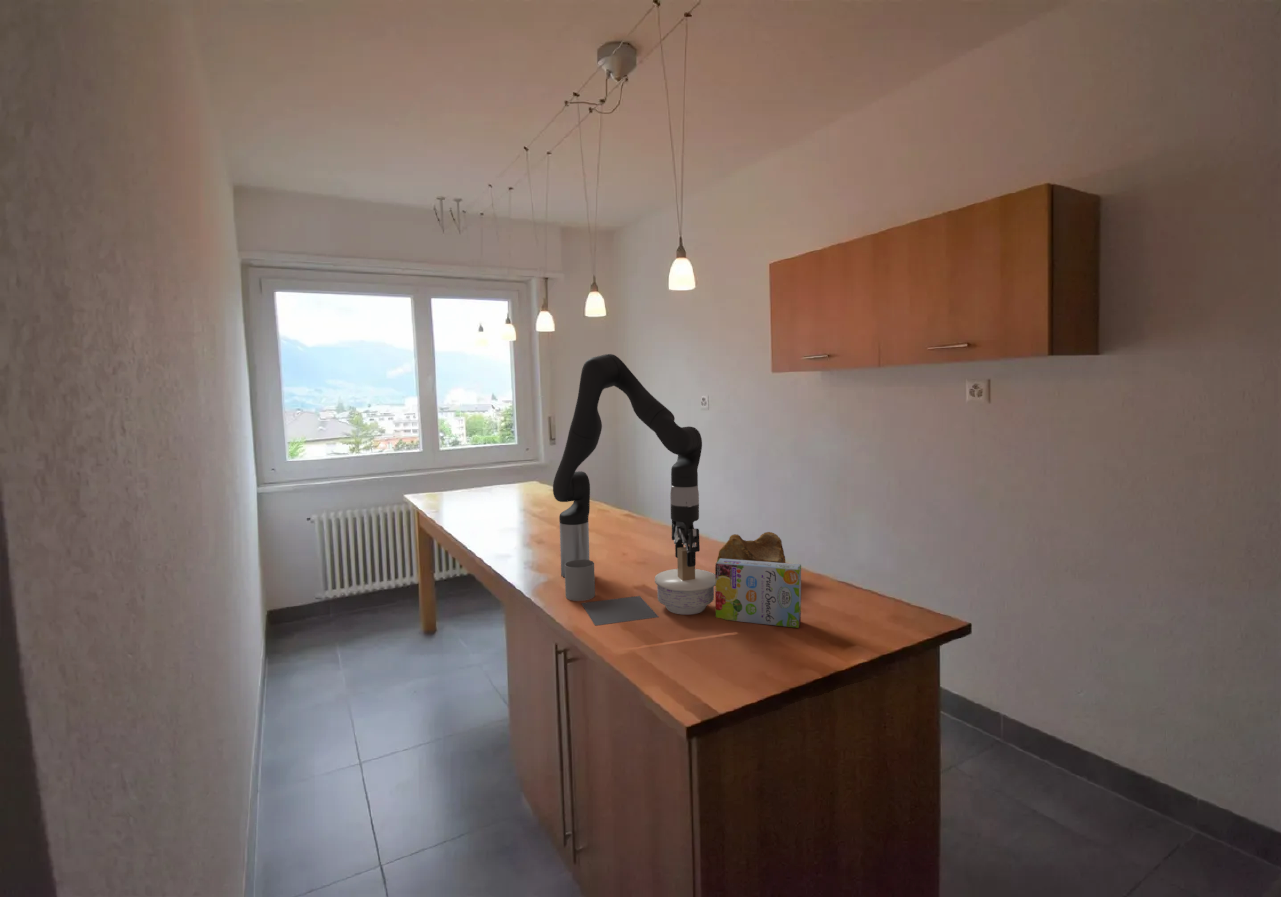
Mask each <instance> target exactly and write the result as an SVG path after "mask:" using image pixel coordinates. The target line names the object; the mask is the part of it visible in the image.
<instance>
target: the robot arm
mask: <svg viewBox="0 0 1281 897" xmlns="http://www.w3.org/2000/svg"><path fill="white" fill-rule="evenodd" d="M582 366H583V367H582V368H581V373H580V374H581V375H580V377H579V379H580V380H579V385H578V386H579V387H578V393H577V394H578V395H577V399H576V404H575V407H574V408H575V409H574V411H573V417H572V420H571V423H570V426H569V430H568V435H567V439H566V443H565V446H564V451H563V454H562V457H561V461H560V462H559V465H558V468H557V470H556V473H555V476H554V479H553V483H552V493H553V497H554V499H555V500H556V501H557V502H560V503H569V502H572V504H571V505H570V506H569V507H568V508H567V509H565V510H563V511H562V512H560V514H559V543H560V544H559V546H560V547H559V548H560V575H561V576H562V577H564V578H565V563H566V562H568V561H572V560H583V559H584V560H590V532H589V531H590V528H589V525H590V524H589V516H590V509H591V508H590V507H591V506H590V503H591V501H590V499H591V484H590V478H589V476H588V474H587V473H586V472H585V471H582V470H581V471H580V470H579V471H577V469H578V468H579V466H581V465H582V463H584V461H585V460H587V459H588V457H589V456H591V455H592V453H593V452H594V451H595V449H596V448H597V445H598V443H599V440H600V437H601V435H602V434H601V433H602V429H603V425H602V424H603V422H602V419H601V416H600V413H599V409H598V406H599V401H600V397H601V395H602V393H603V391H604V390H605V389H608V388H611V387H615V388H617V389H619V390H620V391H622V392H623V393H624V394H625V395H626V396H627V398H628V400H629V402H630V403H631V404H630V405H631V407H632V409H633V412H634V414H635V415H636V416H637V418H638V419H639V420H640V421H641V422H642V423H643V424H645V425H646V426H647V427H648V428H649V429H650V430H651V431H653V432H654V433H655V435H656V437H657V438H658V439H659V441H660V442H661V444H662V445H663V446H664V448H666V449H667V450H668V451H669V452H670V453H671V454H674V455H677V458H676V459H677V461H676V462H675V463H674V464H673V465H672V467H671V471H670V473H671V474H670V475H671V476H670V478H671V479H670V483H671V484H670V485H671V486H670V495H669V496H670V519H671V540H672V541H673V544H674V550H675V551H674V552H675V553H674V554H675V555H674V556H675V558H676V559H677V548H681V547H686V550H687V566H688V567H693V566H695V567H696V564H697V563H696V553H697V552H698V553H699V552H700V528H695V526H694V522H697V521H699V519H700V497H699V496H700V493H699V492H700V491H699V476H698V468H699V465H700V464H699V463H700V460H701V455H702V450H703V449H702V448H703V439H702V436H701V433H700V431H699V430H698V428H696V427H693V426H683V427H681V426H679V425H678V424H677V423H676V421H675V415H674V413H673V412H672V411H670V409H669V408H667V407H666V406H665V405H664V404H662V402H660V401H659V400H658V399H657V398H656V397H654V396H653V395H652V394H651V393H650V392H649V391H648V390H647V389H646V388H645V387H644V385H643V384H642V383H641V382H640V380H639V379H638V378H637V377H636V376H635V375H634V374H633V372H632V371H631V370H630V368H629V367H628V366H627V365H626V364H625V363H624V361H623V360H621V358H619V356H617V355H615V354H612V353H608V354H607V353H606V354H602V355H598V356H593V357H590V358H588V359H587V360H586V361H585V362H584V363H583V365H582Z"/></svg>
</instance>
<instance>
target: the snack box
mask: <svg viewBox="0 0 1281 897" xmlns="http://www.w3.org/2000/svg"><path fill="white" fill-rule="evenodd" d="M714 568H715V569H714V570H715V571H714V572H715V573H714V574H715V586H714V587H715V588H714V599H715V618H718V619H719V618H720V619H722V620H725V621H733V622H742V623H743V622H744V623H749V624H751V623H753V624H758V625H760V624H761V625H768V626H770V625H771V626H777V627H787V628H797V629H799V628H800V625H801V620H802V564H801V563H800V564H799V563H787V562H785V563H776V562H762V561H749V560H736V559H722V558H720V559H719V560H718V561H717V560H716V563H715V567H714Z"/></svg>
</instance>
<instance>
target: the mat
mask: <svg viewBox="0 0 1281 897" xmlns="http://www.w3.org/2000/svg"><path fill="white" fill-rule="evenodd" d="M580 604H581V606H582V607H583V608H584V610H585V612H586V614H587V615H588V617H589V619H590V620H591V622H592V623H593V625H594V626H596V627H597V626H603V625H612V624H617V623H619V624H620V623H625V622H635V621H641V620H649V619H654V618H655V619H656V618H659V617H660V616H659V615H658V614H657V613H656V612H655V610H654V609H652V608H651V607H650V605H649V604H647V602H646V601H645V600H644V599H643V597H642V596H640V595H637V596H628V597H618V598H609V599H604V600H597V601H596V600H595V601H587V602H586V601H585V602H581V603H580Z"/></svg>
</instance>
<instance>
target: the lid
mask: <svg viewBox="0 0 1281 897" xmlns="http://www.w3.org/2000/svg"><path fill="white" fill-rule="evenodd" d="M676 559H677V568H674V569H667V570H664V571H660V572H659V573H657V574H656V575H655V576H654V583H655V585H656V586H657V585H658V586H660V587H662V588H665V589H669V590H674V591H700V590H705V589H709V588H712V587H715V573H713V572H712V571H708V570H705V569H704V570H703V569H699V568H696V565H695V566H693V567H688V566H687V550H686V546H684V547H681V548H677V558H676Z"/></svg>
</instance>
